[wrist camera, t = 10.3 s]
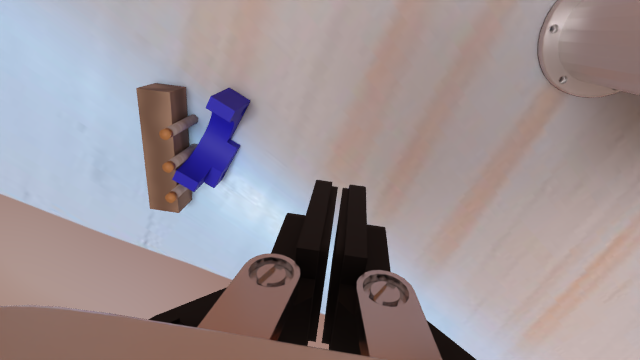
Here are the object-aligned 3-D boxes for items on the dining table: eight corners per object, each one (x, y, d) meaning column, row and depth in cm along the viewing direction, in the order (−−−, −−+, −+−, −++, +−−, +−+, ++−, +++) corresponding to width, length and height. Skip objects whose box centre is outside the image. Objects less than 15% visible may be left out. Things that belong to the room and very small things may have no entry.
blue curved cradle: (222, 179, 48) (204, 198, 43) (193, 162, 48) (172, 179, 42) (261, 107, 44) (247, 118, 38) (229, 87, 43) (211, 96, 38)
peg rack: (196, 88, 43) (166, 99, 37) (201, 200, 50) (176, 227, 43) (155, 83, 44) (118, 93, 37) (165, 195, 50) (135, 221, 44)
